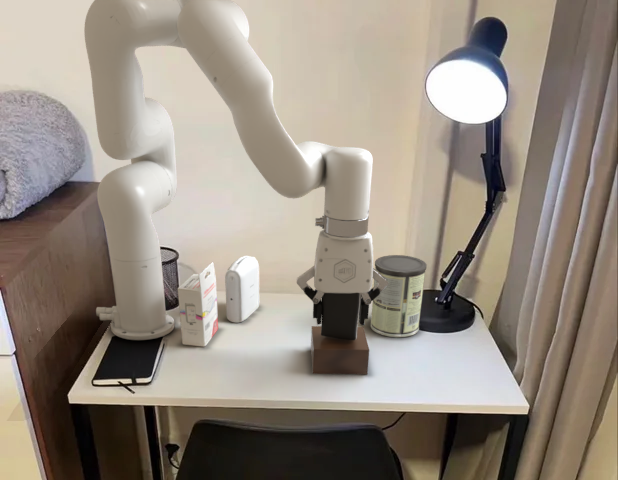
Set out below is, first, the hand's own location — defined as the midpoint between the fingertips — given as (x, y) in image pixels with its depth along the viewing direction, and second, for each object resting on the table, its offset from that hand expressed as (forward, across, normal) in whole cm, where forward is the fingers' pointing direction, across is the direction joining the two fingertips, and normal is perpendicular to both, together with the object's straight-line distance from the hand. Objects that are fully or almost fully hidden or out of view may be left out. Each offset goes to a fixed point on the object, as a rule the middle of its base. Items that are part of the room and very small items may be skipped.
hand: (340, 321), depth 121 cm
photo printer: (+9, -19, +22) cm, 30 cm away
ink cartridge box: (+9, -27, +10) cm, 30 cm away
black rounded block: (+3, 0, 0) cm, 3 cm away
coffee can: (+8, +13, +16) cm, 22 cm away
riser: (+8, 0, 0) cm, 8 cm away
